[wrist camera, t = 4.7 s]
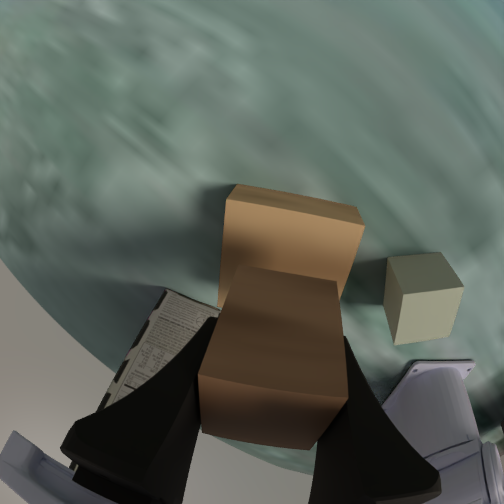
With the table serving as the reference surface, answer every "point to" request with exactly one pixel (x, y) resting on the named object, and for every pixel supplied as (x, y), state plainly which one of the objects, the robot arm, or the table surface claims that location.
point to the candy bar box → (157, 343)
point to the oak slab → (288, 236)
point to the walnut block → (274, 361)
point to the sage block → (421, 297)
